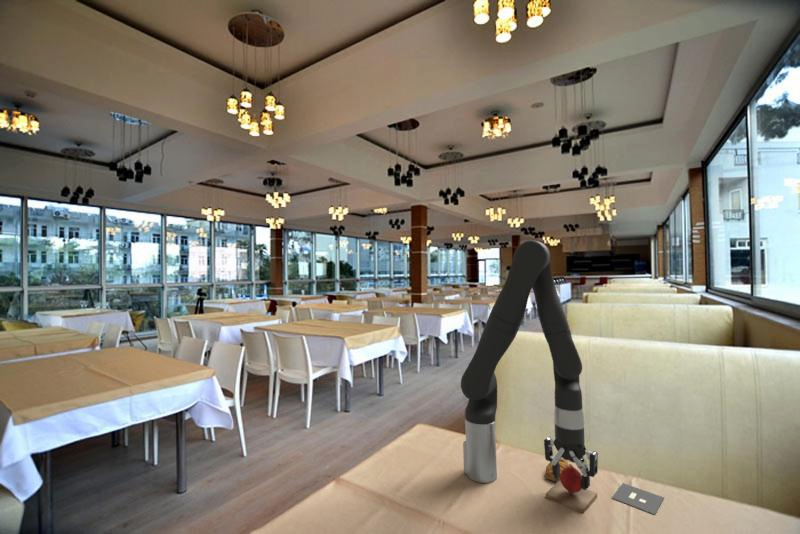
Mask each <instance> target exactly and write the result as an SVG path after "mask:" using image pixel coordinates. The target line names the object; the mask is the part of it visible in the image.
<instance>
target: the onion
mask: <svg viewBox="0 0 800 534" xmlns="http://www.w3.org/2000/svg"><path fill="white" fill-rule="evenodd" d="M568 464H569V467H566V468H564V469H563V471H562V472H561V474H560V481H561V483H562V485H563V487H564V488H565V489H566V490H567V491H568V492H569V493H571V494H572V493H577V492H579V491H580V490H581V489H582V475H583V474H582V473H581V471H579V470H578V468H575V466H574V465H573V464H571V463H568Z"/></svg>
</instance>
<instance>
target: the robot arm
mask: <svg viewBox="0 0 800 534" xmlns="http://www.w3.org/2000/svg"><path fill="white" fill-rule="evenodd" d="M531 291H533V294H534V300H535V305H536V311H537V314H538V315H537V316H538V318H539V319H538V320H539V323H540V326H541V329H542V332H543V335H544V338H545V340H546V342H547V345H548V348H549V351H550V355H551V359H552V367H553V378H554V412H553V415H554V420H553V421H554V423H553V424H554V437H555V438H554V439H553V438H552V437H551V436H548V437H546V438H545V439H544V440H543V444H544V445H543V447H544V458H545V460H546V461H547V462H549V463H550V462H551V463H552V471H553V476H554V478H556V479H558V478H559V477H560V464H559V461H560V460H561V459H563V460H565V461H569V462H571V463H575V465H576V467H577V469H579V470H580V471H579V472H580V473H581V475H582V489H583V490H586V489H589V487H591V480H590V479H591V478H594V477H595V476H596V475H597V474H598V472H599V471H598V469H599V468H598V464H599V462H598V461H599V460H598V459H599V457H598V455H599V453H598V451H595V450H594V451H591V450H588V449H587V448H586V446H585V444H586V443H585V420H584V419H585V417H584V412H583V411H584V410H583V394H582V392H583V391H582V389H581V386H580V376H581V374H582V371H583V363H582V360H581V357H580V355H579V352H578V349H577V347H576V345H575V342H574V340H573V337H572V336H573V335H572V332H571V328H570V325H569V322H568V320H567V316H566V313H565V311H564V308H563V305H562V302H561V300H560V297H559V295H558V291H557V287H556V284H555V281H554V275H553V271H552V264H551V253H550V249H549V248H548V247H547V246H546V244H544V243H542V242H540V241H537V240H525V241H523V242H522V243H520V244H518V246H517V247H516V248H515V251H514V253H513V257H512V260H511V264H510V268H509V270H508V273H507V277H506V280H505V282H504V285H503V286H502V288H501V290H500V292H499V294H498V296H497V298H496V300H495V302H494V304H493V306H492V308H491V311H490V313H489V315H488V318H487V321H486V323H485V326H484V329H483V331H482V333H481V336H480V339H479V342H478V344H477V347H476V350H475V352H474V354H473V357H472V358H471V360H470V362H469V364H468V365H467V367H466V368H465V370H464V372H463V374H462V376H461V378H460V388H461V392H462V394H463V395H464V397H465V398H467V399H468V402H467V404H466V407H465V409H464V419H465V420H464V423H465V424H464V425H465V427H464V429H465V441H463V443H462V445H463V446H462V448H463V449H462V450H463V451H462V452H463V473H464V474H466V476H467V478H468V479H469V480H471V481H474V482H477V483H484V484H486V483H487V484H488V483H491V482H494V481H496V479H497V478H498V469H497V436H496V435H497V433H496V431H497V430H496V429H497V428H496V427H497V426H496V425H497V424H496V414H497V411H498V410H497V409H498V380H497V377H496V374H495V371H496V368H497V366H498V364H499V362H500V361H501V359H502V358H503V356H504V355H505V354H506V353H507V350H509V348H510V346H511V345H512V343H513V342H514V340H515V338H516V335H517V334H518V331H519V330H520V328H521V325H522V323H523V319H524V318H525V317H524V316H525V313H526V309H527V305H528V300H529V297H530V295H531ZM553 447H555V449H556V450H557V453H556V454H555V455H554V451H553ZM585 455H586V456H587V460H588V461H589V466H588V464H587V460H586V459H585Z"/></svg>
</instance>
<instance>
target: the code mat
mask: <svg viewBox="0 0 800 534" xmlns="http://www.w3.org/2000/svg"><path fill="white" fill-rule="evenodd" d="M611 499H613V500H615V501H618V502H620V503H623V504H625V505H628V506H629V507H633V508H636V509H638V510H641V511H643V512H646V513H649V514H651V515H653V516H656V514H657V512H658V511H659V509H660V507H661V506H662V505H661V504H662V503H663V501H664V499H665V497H664V496H660V495H659V494H655V493H653V492H650V491H648V490H647V491H646V490H643V489H642V488H641V489H640V488H638V487H636V486H633V485H630V484H627V483H625V482H622V484H621V485H620V486H619V488H617V490H616V491H615V492H614V494H613V495H612V496H611Z"/></svg>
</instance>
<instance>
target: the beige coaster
mask: <svg viewBox="0 0 800 534" xmlns="http://www.w3.org/2000/svg"><path fill="white" fill-rule="evenodd" d="M545 498H547V499H550V500H551V501H553V502H556V503H559V504H561V505H563V506H566V507H568V508H570V509H573V510H574V511H577V512H579V513H582V514H584V513H585V512H586V511H587V510H588V509H589V507H590V506H591V505H592V504H593V503H594V501H595V500H596V499H597V498H598V493H597V492H596V491H593V490H590V489H589V488H587V489H586V490H583V489H581V490H580V491H579V492H577V493H572V494H571V493H569V492H568V491H567V490H566V489H565V488H564V487H563V485H562V483H561V481H560V480H559V481H558V482H556V483H555V484H554V485H553V486H552V487H551V488H550V489H549V490H547V491H546V493H545Z"/></svg>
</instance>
